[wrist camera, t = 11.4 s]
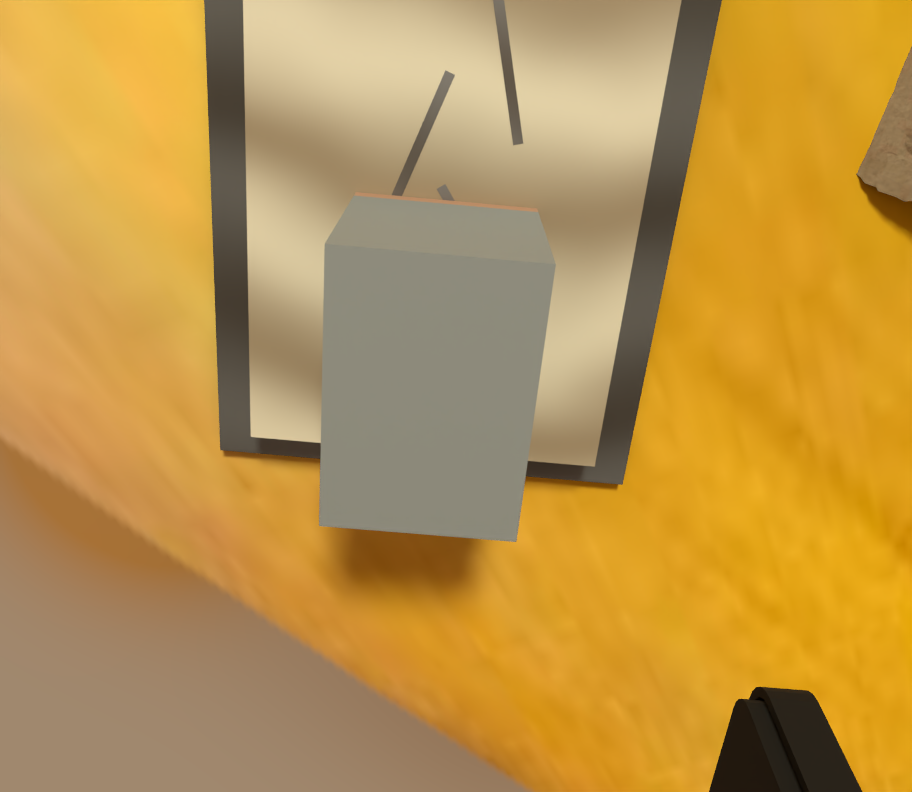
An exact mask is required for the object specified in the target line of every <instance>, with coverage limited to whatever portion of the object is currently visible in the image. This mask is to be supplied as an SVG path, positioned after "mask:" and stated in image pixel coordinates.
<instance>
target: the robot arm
mask: <svg viewBox="0 0 912 792" xmlns="http://www.w3.org/2000/svg"><path fill="white" fill-rule="evenodd" d="M709 792H862V790H861V788H860V786H859V784H858V782H857V780H856V778H855V776H854V774H853V772H852V770H851V768H850V766H849V764H848V762H847V760H846V758H845V756H844V754H843V752H842V750H841V748H840V746H839V744H838V741H837V739H836V737H835V735H834V733H833V731H832V729H831V727H830V725H829V723H828V721H827V719H826V717H825V715H824V713H823V711H822V709H821V707H820V705H819V703H818V701H817V700H816V698H815V696H814V695H813V694H812V693H810V692H809V691H805V690H792V689H780V688H767V687H756V688H755V689H754V690H753V691H752V693H751V696H750V698H749V700H748V699H738V701H737V702H736V703H735V706H734V708H733V712H732V715H731V719H730V722H729V725H728V729H727V732H726V736H725V739H724V743H723V746H722V749H721V753H720V756H719V760H718V763H717V766H716V770H715V773H714V777H713V780H712V784H711V787H710V790H709Z"/></svg>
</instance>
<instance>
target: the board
mask: <svg viewBox="0 0 912 792" xmlns="http://www.w3.org/2000/svg"><path fill="white" fill-rule="evenodd" d="M721 1H722V0H204V4H205V32H206V60H207V88H208V116H209V144H210V172H211V200H212V228H213V256H214V284H215V312H216V340H217V367H218V395H219V423H220V450H226V451H237V452H249V453H261V454H272V455H284V456H296V457H307V458H319V459H320V458H321V406H322V354H323V301H324V249H325V242H326V241H327V239H328V237H329V236H330V234H331V232H332V231H333V229H334V227H335V226H336V224H337V223H338V221H339V219H340V218H341V216H342V214H343V213H344V211H345V209H346V208H347V206H348V204H349V203H350V201H351V200H352V198H353V196H354V195H355V193H356V192H361V193H372V194H383V195H394V196H405V197H416V198H427V199H438V200H449V201H460V202H471V203H482V204H494V205H505V206H516V207H527V208H537V210H538V213H539V216H540V219H541V222H542V225H543V228H544V231H545V233H546V236H547V239H548V242H549V245H550V248H551V251H552V254H553V257H554V260H555V263H556V267H555V274H554V281H553V288H552V295H551V302H550V309H549V316H548V323H547V330H546V337H545V344H544V351H543V358H542V365H541V372H540V379H539V386H538V393H537V400H536V407H535V414H534V421H533V428H532V435H531V442H530V449H529V456H528V463H527V470H526V476H529V477H541V478H552V479H564V480H575V481H587V482H599V483H610V484H623V479H624V474H625V469H626V464H627V460H628V455H629V450H630V445H631V440H632V435H633V430H634V425H635V421H636V416H637V411H638V406H639V401H640V396H641V391H642V386H643V382H644V377H645V372H646V367H647V362H648V357H649V352H650V347H651V343H652V338H653V333H654V328H655V323H656V318H657V313H658V308H659V304H660V299H661V294H662V289H663V284H664V279H665V274H666V269H667V265H668V260H669V255H670V250H671V245H672V240H673V235H674V230H675V226H676V221H677V216H678V211H679V206H680V201H681V196H682V191H683V187H684V182H685V177H686V172H687V167H688V162H689V157H690V152H691V148H692V143H693V138H694V133H695V128H696V123H697V118H698V113H699V109H700V104H701V99H702V94H703V89H704V84H705V79H706V75H707V70H708V65H709V60H710V55H711V50H712V45H713V40H714V36H715V31H716V26H717V21H718V16H719V11H720V6H721Z"/></svg>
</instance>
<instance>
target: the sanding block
mask: <svg viewBox="0 0 912 792" xmlns="http://www.w3.org/2000/svg"><path fill="white" fill-rule="evenodd" d="M555 267H556V263H555V260H554V257H553V254H552V251H551V248H550V245H549V242H548V239H547V236H546V233H545V231H544V228H543V225H542V222H541V219H540V216H539V213H538V210H537V208H527V207H516V206H505V205H494V204H482V203H471V202H460V201H449V200H438V199H427V198H416V197H405V196H394V195H383V194H372V193H361V192H356V193H355V195H354V196H353V198H352V200H351V201H350V203H349V204H348V206H347V208H346V209H345V211H344V213H343V214H342V216H341V218H340V219H339V221H338V223H337V224H336V226H335V227H334V229H333V231H332V232H331V234H330V236H329V237H328V239H327V241H326V242H325V249H324V301H323V354H322V406H321V458H320V510H319V526H326V527H338V528H351V529H363V530H375V531H388V532H400V533H413V534H425V535H438V536H450V537H462V538H475V539H487V540H500V541H512V542H516V540H517V533H518V526H519V519H520V512H521V505H522V498H523V491H524V484H525V477H526V470H527V463H528V456H529V449H530V442H531V435H532V428H533V421H534V414H535V407H536V400H537V393H538V386H539V379H540V372H541V365H542V358H543V351H544V344H545V337H546V330H547V323H548V316H549V309H550V302H551V295H552V288H553V281H554V274H555Z"/></svg>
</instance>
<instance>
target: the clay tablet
mask: <svg viewBox="0 0 912 792" xmlns="http://www.w3.org/2000/svg"><path fill="white" fill-rule="evenodd" d="M857 175H858V176H859V177H861V179H862V180H863V182H864V183H866V184H868V185H871V186H875V187H876V188H877V190H878V191H879V192H882V193H885V194H888V195H891V196H894V197H897V198H898V199H900V200H902V201H904V202H905V201H912V47H911V50H910V52H909V54H908V57H907V59H906V61H905V63H904V66H903V68H902V71H901V73H900V76H899V78H898V80H897V83H896V87H895V90H894V92H893V94H892V96H891V98H890V100H889V102H888V105H887V107H886V110H885V112H884V114H883V116H882V119H881V121H880V123H879V126H878V128H877V130H876V133H875V135H874V138H873V140H872V143H871V145H870V147H869V149H868V152H867V154H866V156H865V158H864V160H863V162H862V164H861V166H860V168H859V170H858V173H857Z"/></svg>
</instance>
